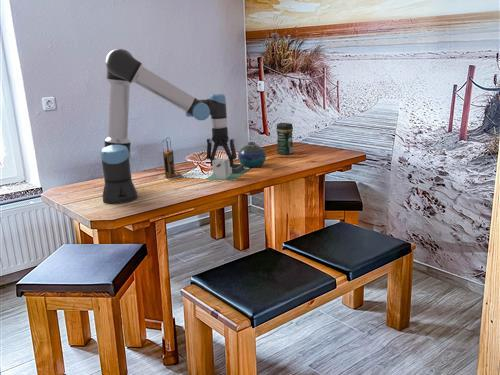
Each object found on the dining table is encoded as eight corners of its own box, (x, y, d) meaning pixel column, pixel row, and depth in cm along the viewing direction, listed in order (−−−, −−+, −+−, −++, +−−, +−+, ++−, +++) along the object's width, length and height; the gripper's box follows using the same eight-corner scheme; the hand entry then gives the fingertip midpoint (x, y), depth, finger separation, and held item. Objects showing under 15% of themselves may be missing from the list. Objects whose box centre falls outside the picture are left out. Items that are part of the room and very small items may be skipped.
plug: (223, 180, 231) (222, 162, 229) (213, 180, 233) (212, 161, 230) (230, 175, 240) (229, 157, 237) (221, 175, 241) (219, 157, 239)
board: (233, 183, 231) (233, 175, 230) (205, 182, 236) (204, 174, 234) (249, 171, 252) (249, 163, 251) (223, 170, 257) (222, 163, 256)
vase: (270, 164, 266) (270, 140, 262) (259, 171, 252) (258, 146, 248) (245, 162, 272) (244, 139, 268) (233, 169, 259) (232, 144, 255)
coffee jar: (274, 153, 291) (273, 123, 286) (283, 151, 297) (282, 121, 292) (286, 155, 285) (286, 124, 280) (295, 153, 290) (294, 122, 285)
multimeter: (181, 179, 242) (177, 140, 237) (162, 179, 244) (158, 140, 239) (190, 172, 256) (187, 135, 251) (172, 172, 258) (169, 135, 253)
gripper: (242, 125, 230) (244, 172, 237) (203, 125, 237) (206, 170, 243) (236, 128, 224) (239, 175, 230) (196, 128, 230) (200, 174, 237)
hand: (222, 173), depth 237 cm, fingers open, 8 cm apart
